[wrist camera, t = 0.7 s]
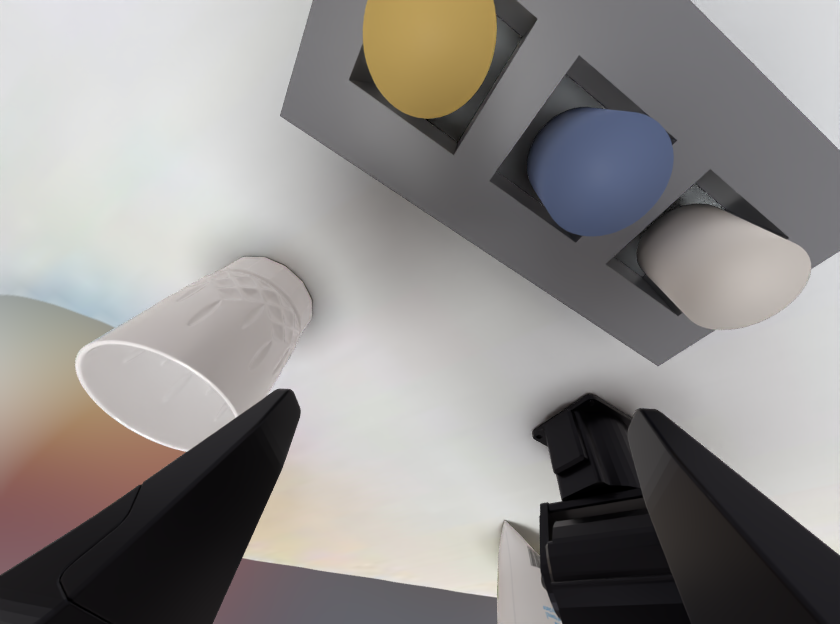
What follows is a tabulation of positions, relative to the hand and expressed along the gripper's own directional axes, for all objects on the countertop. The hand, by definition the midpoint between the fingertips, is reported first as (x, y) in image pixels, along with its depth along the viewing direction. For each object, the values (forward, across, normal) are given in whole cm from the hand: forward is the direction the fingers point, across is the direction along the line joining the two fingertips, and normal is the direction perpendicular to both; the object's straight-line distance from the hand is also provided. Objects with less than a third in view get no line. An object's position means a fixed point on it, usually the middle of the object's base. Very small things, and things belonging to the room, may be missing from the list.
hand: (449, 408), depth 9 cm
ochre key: (+9, +1, -8) cm, 13 cm away
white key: (+9, -10, -1) cm, 14 cm away
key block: (+13, -4, -5) cm, 14 cm away
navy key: (+9, -5, -5) cm, 11 cm away
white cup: (+13, +14, +4) cm, 20 cm away
